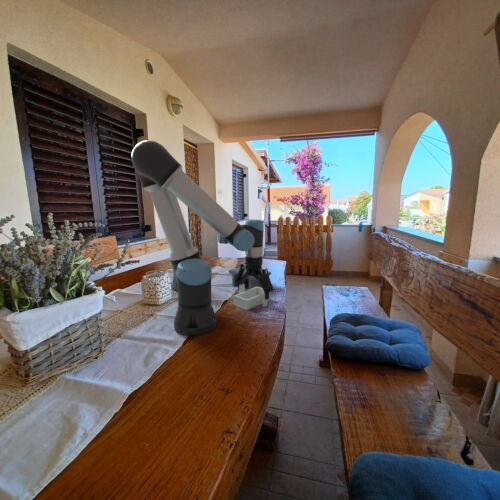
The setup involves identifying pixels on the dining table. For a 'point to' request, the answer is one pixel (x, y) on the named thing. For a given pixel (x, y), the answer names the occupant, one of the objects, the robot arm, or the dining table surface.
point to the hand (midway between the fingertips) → (252, 301)
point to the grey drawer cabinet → (252, 280)
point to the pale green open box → (249, 298)
